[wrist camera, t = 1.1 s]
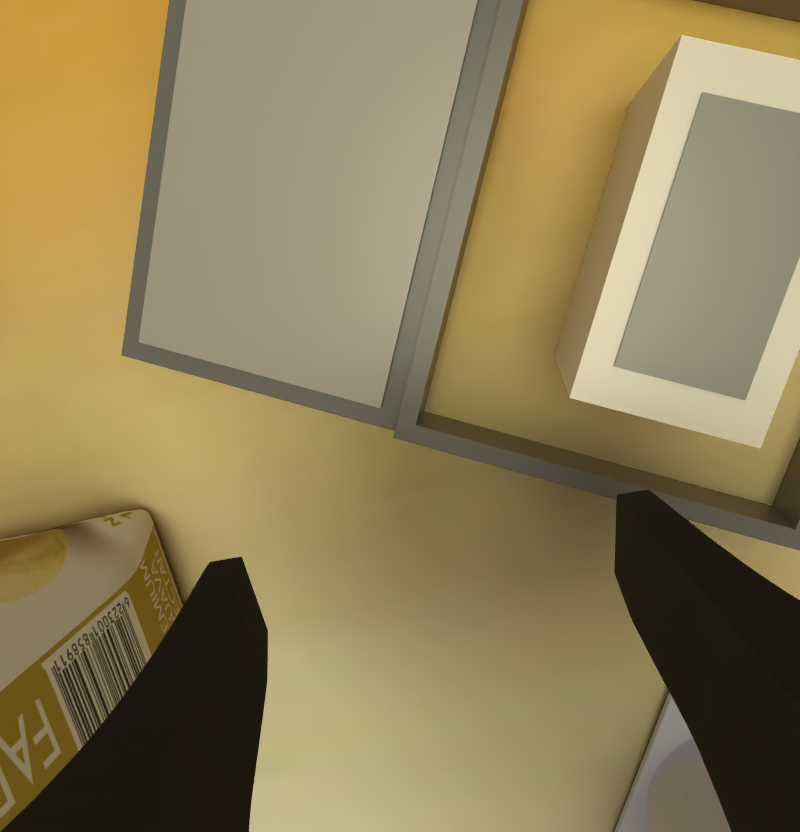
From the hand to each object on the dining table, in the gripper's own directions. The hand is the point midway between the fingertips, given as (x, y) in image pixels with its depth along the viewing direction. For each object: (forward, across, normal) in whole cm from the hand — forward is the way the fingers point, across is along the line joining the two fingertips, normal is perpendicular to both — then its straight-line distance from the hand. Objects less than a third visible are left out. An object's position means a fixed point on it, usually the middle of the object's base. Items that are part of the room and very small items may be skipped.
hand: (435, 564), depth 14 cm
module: (+11, -9, -1) cm, 14 cm away
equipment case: (+12, -4, -3) cm, 13 cm away
